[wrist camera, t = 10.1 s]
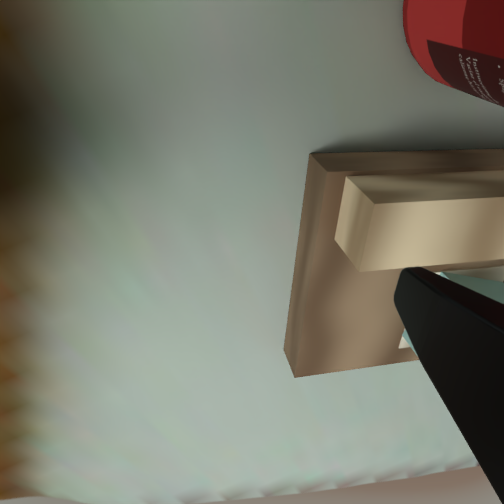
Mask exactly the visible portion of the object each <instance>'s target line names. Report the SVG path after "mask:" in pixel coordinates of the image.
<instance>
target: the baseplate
mask: <svg viewBox="0 0 504 504" xmlns="http://www.w3.org/2000/svg"><path fill="white" fill-rule="evenodd" d="M496 170H504V149H469V150H430V151H390V152H351V153H311V154H309V161H308V169H307V176H306V184H305V191H304V199H303V207H302V214H301V222H300V229H299V237H298V245H297V252H296V260H295V267H294V275H293V283H292V290H291V298H290V305H289V313H288V321H287V328H286V336H285V343H284V352H285V354H286V357H287V359H288V362H289V365H290V367H291V370H292V372H293V375H294V377H295V378H296V377H303V376H310V375H317V374H324V373H331V372H338V371H345V370H352V369H359V368H366V367H373V366H380V365H387V364H394V363H400V362H407V361H414V360H419V358H418V356H417V355H416V354H415V352H414V351H413V350H412V348H411V347H410V345H409V344H408V343H407V341H406V340H405V339H404V337H403V336H402V334H403V332H404V331H405V327H404V325H403V323H402V321H401V318H400V316H399V314H398V312H397V309H396V307H395V304H394V292H395V289H396V285H397V282H398V279H399V275H400V272H401V271H402V269H404V268H399V269H388V270H377V271H366V272H359V271H358V270H357V269H356V267H355V266H354V265H353V263H352V262H351V261H350V259H349V258H348V257H347V255H346V254H345V253H344V251H343V250H342V249H341V247H340V246H339V245H338V243H337V242H336V241H335V234H336V228H337V223H338V217H339V212H340V206H341V201H342V195H343V190H344V185H345V179H346V176H365V175H391V174H418V173H444V172H470V171H496ZM421 267H423V268H425V269H427V270H429V271H431V272H434V273H436V274H438V275H440V273H441V272H447V273H453V274H458V275H464V276H470V277H476V278H482V279H488V280H493V281H499V282H503V283H504V259H497V260H486V261H475V262H465V263H454V264H443V265H432V266H421Z"/></svg>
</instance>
